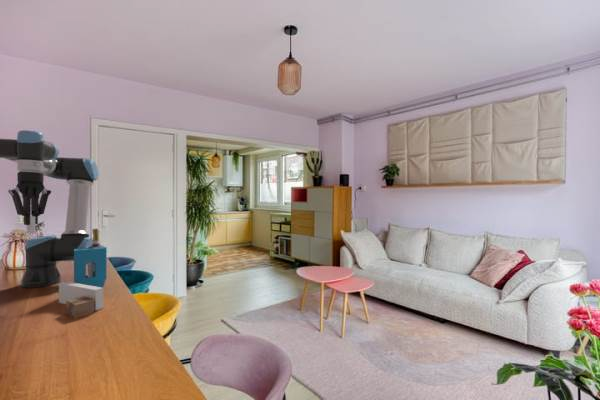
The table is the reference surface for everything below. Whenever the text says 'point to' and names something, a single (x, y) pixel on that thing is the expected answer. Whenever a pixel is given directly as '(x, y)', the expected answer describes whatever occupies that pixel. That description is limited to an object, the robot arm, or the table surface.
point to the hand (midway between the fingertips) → (31, 233)
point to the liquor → (95, 244)
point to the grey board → (80, 293)
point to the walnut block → (80, 307)
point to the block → (83, 258)
